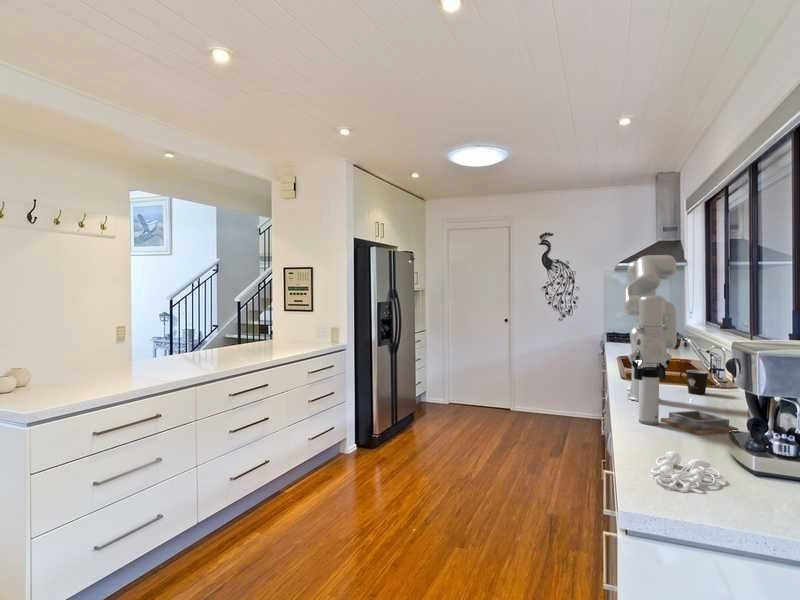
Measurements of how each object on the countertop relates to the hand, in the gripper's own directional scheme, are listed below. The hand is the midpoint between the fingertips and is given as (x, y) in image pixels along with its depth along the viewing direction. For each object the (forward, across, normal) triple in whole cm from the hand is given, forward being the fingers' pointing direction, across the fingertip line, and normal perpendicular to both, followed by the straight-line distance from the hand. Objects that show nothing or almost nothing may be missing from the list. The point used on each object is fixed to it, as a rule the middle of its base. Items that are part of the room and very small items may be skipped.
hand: (649, 379), depth 166 cm
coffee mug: (+15, +57, +36) cm, 70 cm away
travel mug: (+16, 0, 0) cm, 16 cm away
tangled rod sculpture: (+17, -28, -43) cm, 54 cm away
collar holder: (+16, +13, -8) cm, 22 cm away
